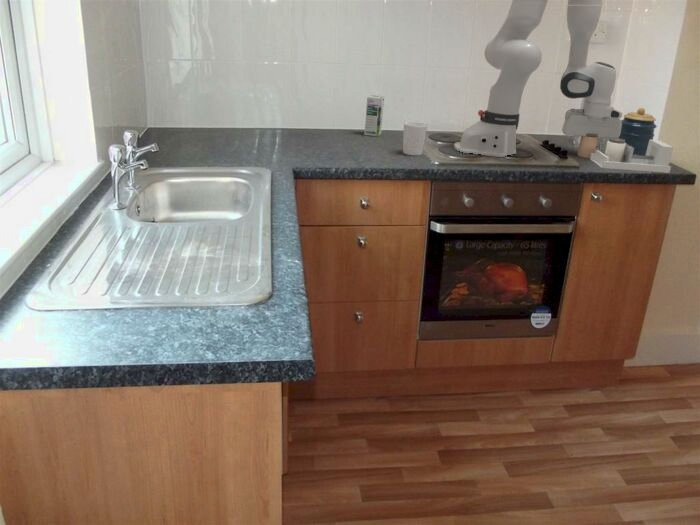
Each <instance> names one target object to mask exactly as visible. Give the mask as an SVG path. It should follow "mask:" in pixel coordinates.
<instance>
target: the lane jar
mask: <svg viewBox="0 0 700 525" xmlns="http://www.w3.org/2000/svg"><path fill="white" fill-rule="evenodd" d="M606 141H607V142H606V144H605V145H606V146H605V150H604V154H605V155H606V156H608V157H609V161H610V162H622V157H623V153H624V149H625V145H626V143H625V139H622V138H616V137H610V138H608V139H607V140H606Z"/></svg>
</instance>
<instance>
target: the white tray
mask: <svg viewBox="0 0 700 525" xmlns="http://www.w3.org/2000/svg"><path fill="white" fill-rule="evenodd" d="M673 150H674V146H671V145H669V143H665V142H663V141H661V140H660V139H659V140H658V139H653V140H649V143H648V147H647V151H646V155H650V156H654V159H653V160H648V159H634V158H632V159H631V163H623V162H610V161H609V157H608V156H606V155H605V153H603V152H602V151H601V150H596V151H595V153H591V156H590V158H589V160H590V161H592V162H594V163H595V164H596V165H598V166H599V167H600V168H601V169H609V170H623V171H634V172H651V173H663V174H664V173H665V174H670V172H671V168H672V166H671V165H669V164H670V162H671V157H672V153H673Z"/></svg>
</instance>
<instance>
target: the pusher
mask: <svg viewBox="0 0 700 525" xmlns="http://www.w3.org/2000/svg"><path fill="white" fill-rule="evenodd" d="M633 151H634V148H633V147H632V146H630V145H628V144H626V145H625V149H624V153H623V157H622V162H623V163H631V159H632V158H634V159H648V160H653V159H654V156H650V155H637V154H633Z"/></svg>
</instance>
